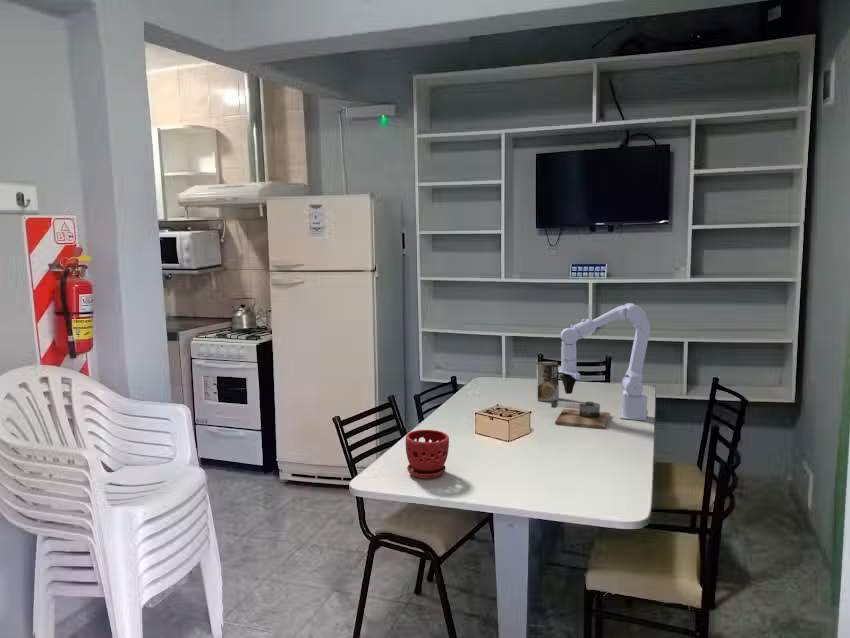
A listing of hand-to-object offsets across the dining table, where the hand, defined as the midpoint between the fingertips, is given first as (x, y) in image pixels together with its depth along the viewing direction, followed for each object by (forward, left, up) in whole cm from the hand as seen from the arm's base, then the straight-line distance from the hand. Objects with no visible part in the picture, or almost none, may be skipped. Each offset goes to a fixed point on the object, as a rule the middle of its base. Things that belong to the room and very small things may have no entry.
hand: (568, 393), depth 243 cm
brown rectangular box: (+13, -23, -10) cm, 28 cm away
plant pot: (+30, +73, -10) cm, 80 cm away
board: (-6, +3, -9) cm, 12 cm away
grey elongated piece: (-3, 0, -8) cm, 8 cm away
